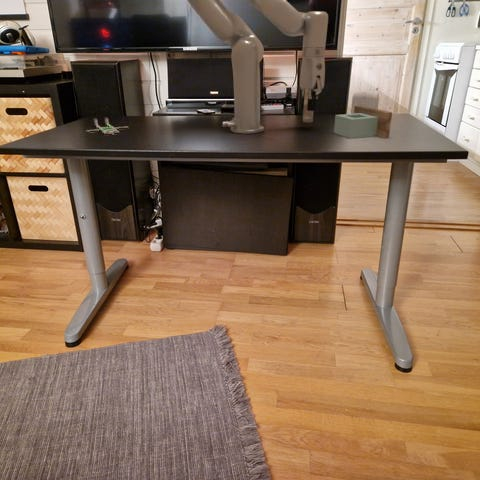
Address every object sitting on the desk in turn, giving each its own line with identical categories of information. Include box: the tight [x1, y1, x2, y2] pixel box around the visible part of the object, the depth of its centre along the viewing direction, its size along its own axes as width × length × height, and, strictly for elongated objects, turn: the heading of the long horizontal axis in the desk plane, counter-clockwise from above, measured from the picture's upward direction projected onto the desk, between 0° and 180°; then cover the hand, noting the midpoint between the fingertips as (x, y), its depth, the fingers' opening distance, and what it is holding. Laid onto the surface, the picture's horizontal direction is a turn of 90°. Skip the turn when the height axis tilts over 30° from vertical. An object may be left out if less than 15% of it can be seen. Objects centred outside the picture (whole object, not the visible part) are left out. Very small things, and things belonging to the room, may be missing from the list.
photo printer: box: [350, 89, 380, 114], centre depth 160 cm, size 10×4×12 cm, turn 60°
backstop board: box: [354, 106, 393, 139], centre depth 135 cm, size 20×18×9 cm
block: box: [333, 113, 378, 139], centre depth 136 cm, size 10×10×6 cm
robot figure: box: [85, 117, 130, 135], centre depth 160 cm, size 16×3×22 cm
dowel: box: [302, 87, 315, 123], centre depth 144 cm, size 4×4×12 cm
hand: (308, 109), depth 145 cm, fingers closed on dowel, 3 cm apart
